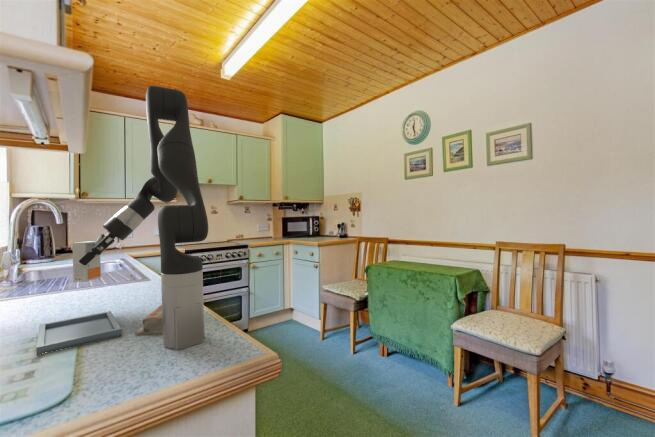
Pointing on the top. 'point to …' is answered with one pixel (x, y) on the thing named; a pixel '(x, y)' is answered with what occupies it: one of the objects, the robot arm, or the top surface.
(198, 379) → the top surface
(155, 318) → the packaged product
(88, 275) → the skincare box
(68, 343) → the tray
